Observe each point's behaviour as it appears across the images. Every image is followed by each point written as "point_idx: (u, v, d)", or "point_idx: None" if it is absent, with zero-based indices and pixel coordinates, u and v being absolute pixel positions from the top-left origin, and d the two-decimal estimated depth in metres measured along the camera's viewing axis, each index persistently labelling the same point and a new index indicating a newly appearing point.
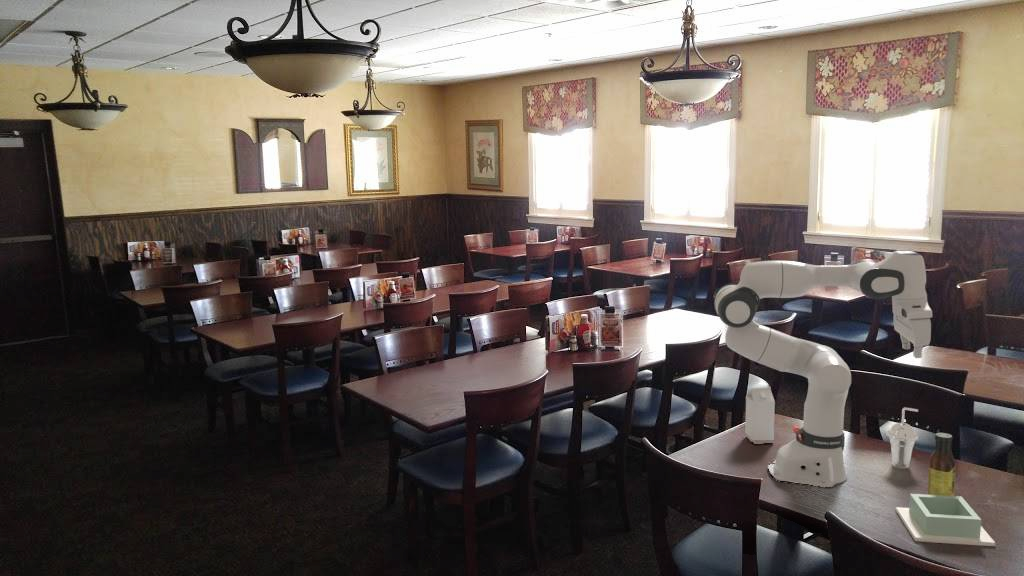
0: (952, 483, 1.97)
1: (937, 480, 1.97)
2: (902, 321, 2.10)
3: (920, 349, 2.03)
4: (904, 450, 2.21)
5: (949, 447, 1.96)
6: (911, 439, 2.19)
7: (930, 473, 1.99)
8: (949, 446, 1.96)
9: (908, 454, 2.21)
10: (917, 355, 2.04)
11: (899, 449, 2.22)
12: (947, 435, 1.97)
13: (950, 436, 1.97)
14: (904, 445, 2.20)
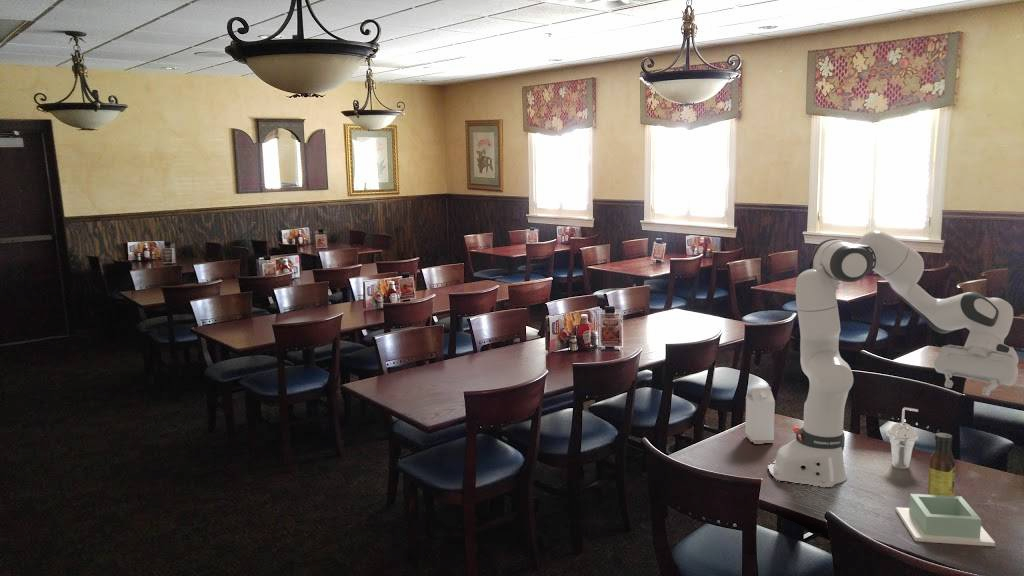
0: (952, 483, 1.97)
1: (937, 480, 1.97)
2: (967, 359, 2.06)
3: (994, 387, 1.99)
4: (904, 450, 2.21)
5: (949, 447, 1.96)
6: (911, 439, 2.19)
7: (930, 473, 1.99)
8: (949, 446, 1.96)
9: (908, 454, 2.21)
10: (988, 391, 1.99)
11: (899, 449, 2.22)
12: (947, 435, 1.97)
13: (950, 436, 1.97)
14: (904, 445, 2.20)
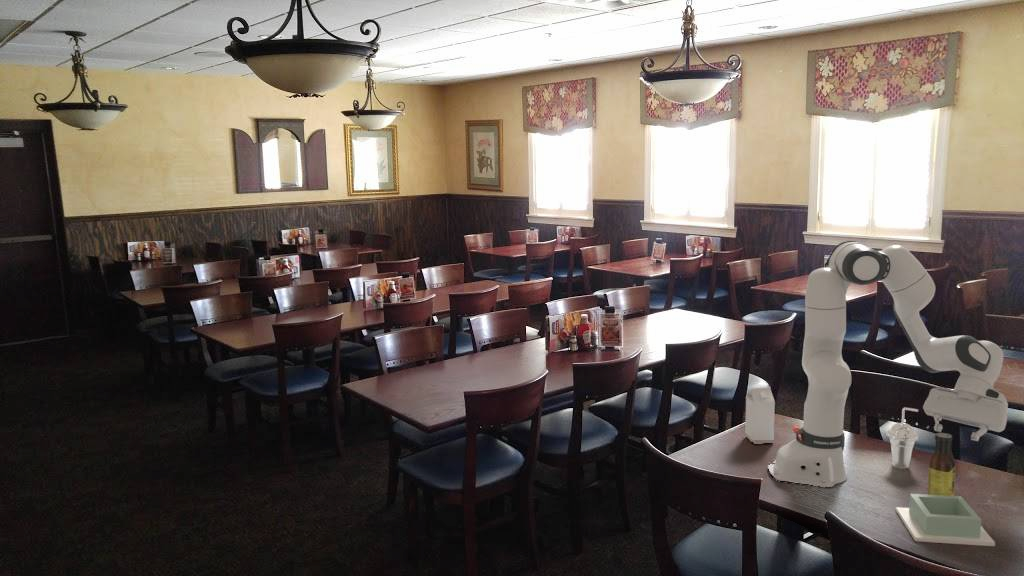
0: (952, 483, 1.97)
1: (937, 480, 1.97)
2: (957, 403, 2.05)
3: (983, 433, 1.98)
4: (904, 450, 2.21)
5: (949, 447, 1.96)
6: (911, 439, 2.19)
7: (930, 473, 1.99)
8: (949, 446, 1.96)
9: (908, 454, 2.21)
10: (977, 437, 1.98)
11: (899, 449, 2.22)
12: (947, 435, 1.97)
13: (950, 436, 1.97)
14: (904, 445, 2.20)
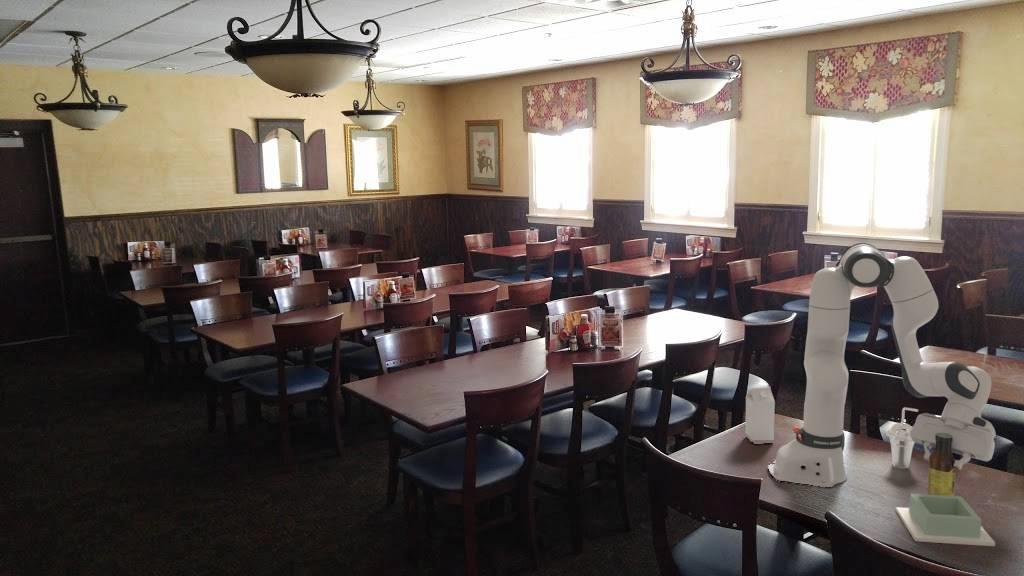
0: (952, 483, 1.97)
1: (937, 480, 1.97)
2: (944, 430, 2.02)
3: (966, 461, 1.95)
4: (904, 450, 2.21)
5: (949, 447, 1.96)
6: (911, 439, 2.19)
7: (930, 473, 1.99)
8: (949, 446, 1.96)
9: (908, 454, 2.21)
10: (960, 465, 1.95)
11: (899, 449, 2.22)
12: (947, 435, 1.97)
13: (950, 436, 1.97)
14: (904, 445, 2.20)
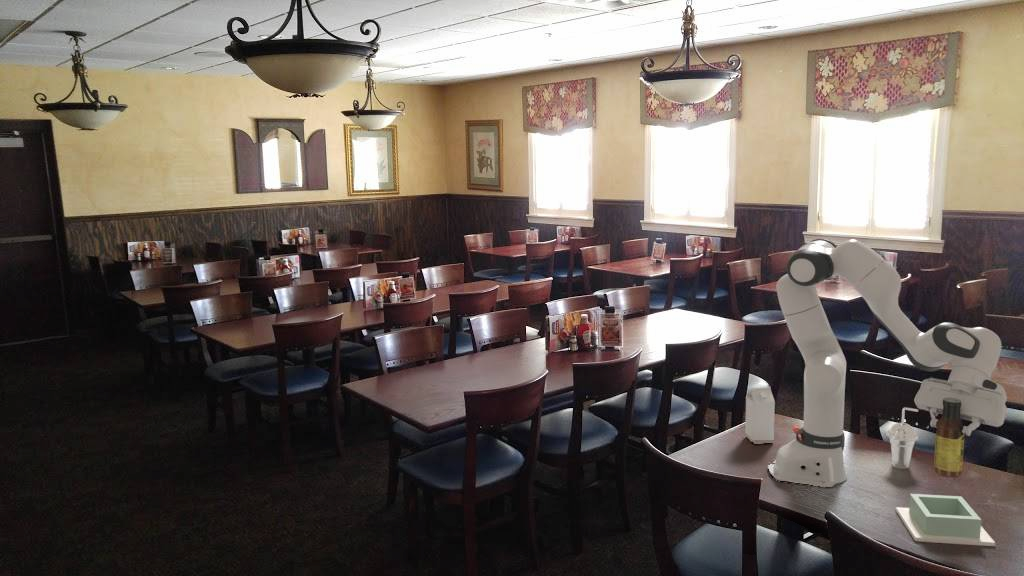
0: (961, 451, 1.83)
1: (945, 448, 1.83)
2: (951, 395, 1.88)
3: (975, 427, 1.81)
4: (904, 450, 2.21)
5: (958, 413, 1.82)
6: (911, 439, 2.19)
7: (937, 441, 1.85)
8: (958, 411, 1.82)
9: (908, 454, 2.21)
10: (969, 431, 1.81)
11: (899, 449, 2.22)
12: (956, 400, 1.83)
13: (959, 401, 1.82)
14: (904, 445, 2.20)
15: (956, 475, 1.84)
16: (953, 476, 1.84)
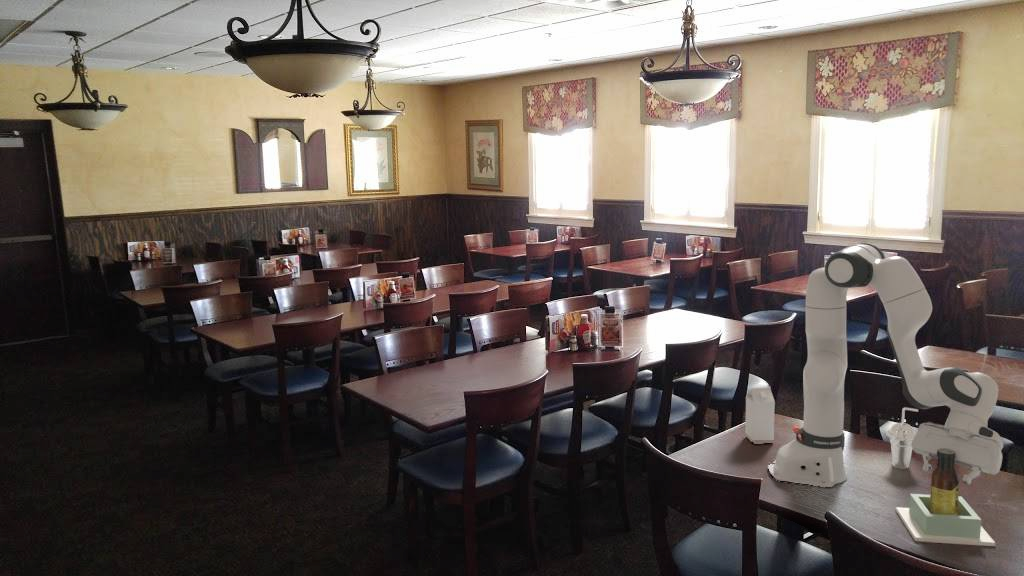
0: (955, 502, 1.84)
1: (939, 499, 1.85)
2: (948, 441, 1.88)
3: (975, 476, 1.81)
4: (904, 450, 2.21)
5: (952, 464, 1.84)
6: (911, 439, 2.19)
7: (932, 491, 1.87)
8: (952, 463, 1.84)
9: (908, 454, 2.21)
10: (969, 480, 1.81)
11: (899, 449, 2.22)
12: (950, 451, 1.85)
13: (953, 452, 1.84)
14: (904, 445, 2.20)
15: None
16: None
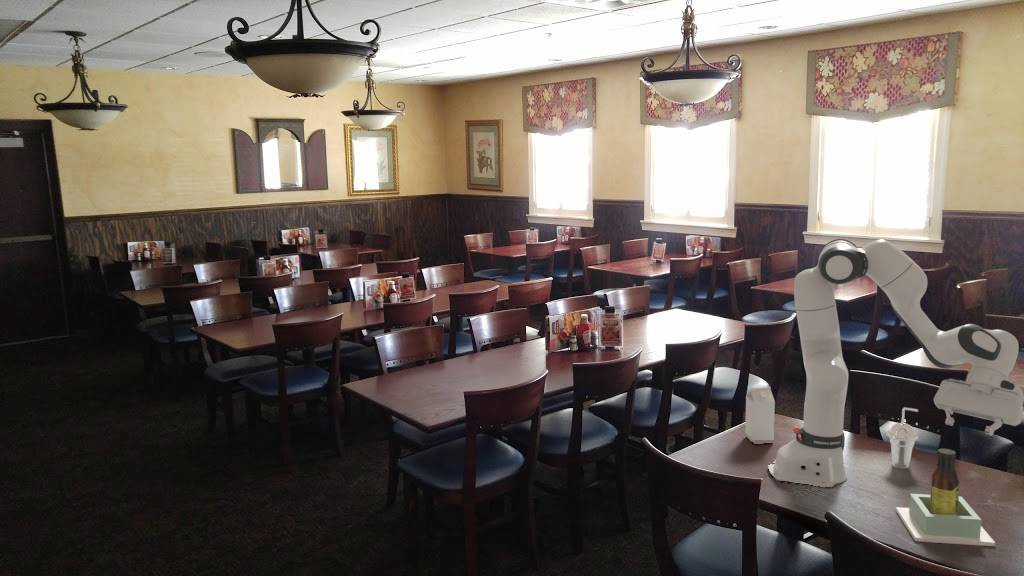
0: (955, 502, 1.84)
1: (939, 499, 1.85)
2: (970, 395, 1.94)
3: (997, 427, 1.87)
4: (904, 450, 2.21)
5: (952, 464, 1.84)
6: (911, 439, 2.19)
7: (932, 491, 1.87)
8: (952, 463, 1.84)
9: (908, 454, 2.21)
10: (992, 431, 1.87)
11: (899, 449, 2.22)
12: (950, 451, 1.85)
13: (953, 452, 1.84)
14: (904, 445, 2.20)
15: None
16: None
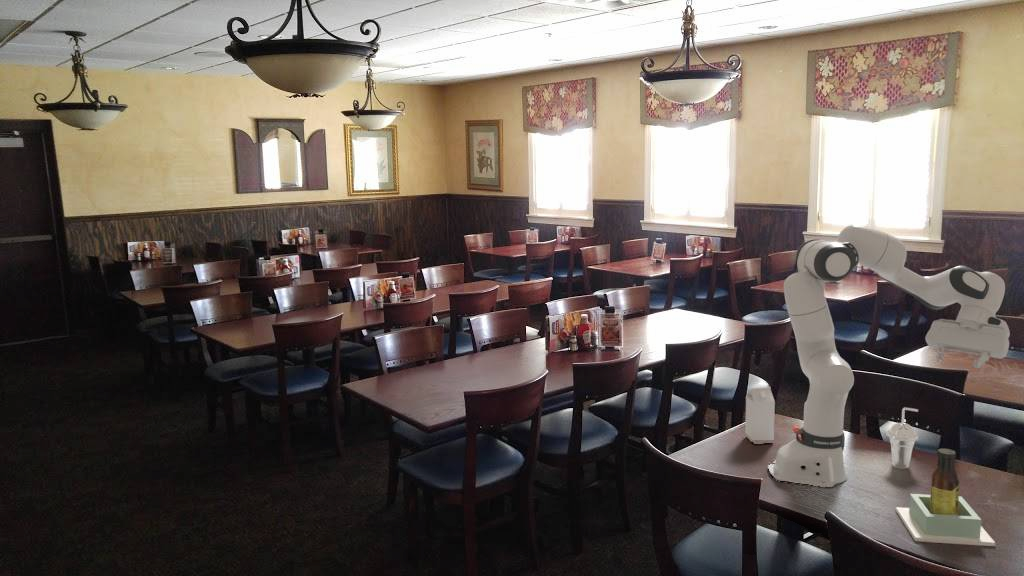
0: (955, 502, 1.84)
1: (939, 499, 1.85)
2: (959, 332, 2.06)
3: (985, 360, 1.99)
4: (904, 450, 2.21)
5: (952, 464, 1.84)
6: (911, 439, 2.19)
7: (932, 491, 1.87)
8: (952, 463, 1.84)
9: (908, 454, 2.21)
10: (979, 364, 1.99)
11: (899, 449, 2.22)
12: (950, 451, 1.85)
13: (953, 452, 1.84)
14: (904, 445, 2.20)
15: None
16: None
